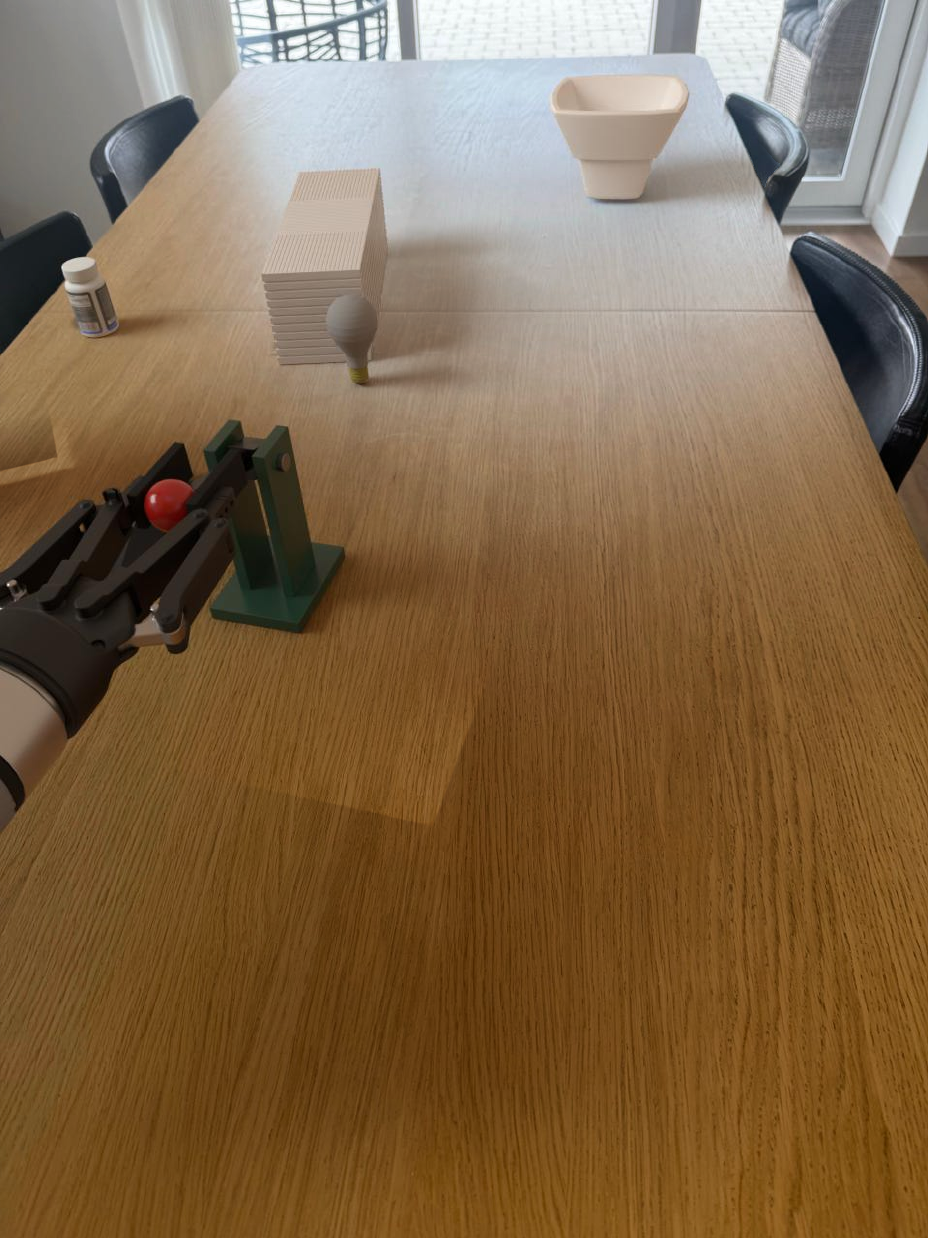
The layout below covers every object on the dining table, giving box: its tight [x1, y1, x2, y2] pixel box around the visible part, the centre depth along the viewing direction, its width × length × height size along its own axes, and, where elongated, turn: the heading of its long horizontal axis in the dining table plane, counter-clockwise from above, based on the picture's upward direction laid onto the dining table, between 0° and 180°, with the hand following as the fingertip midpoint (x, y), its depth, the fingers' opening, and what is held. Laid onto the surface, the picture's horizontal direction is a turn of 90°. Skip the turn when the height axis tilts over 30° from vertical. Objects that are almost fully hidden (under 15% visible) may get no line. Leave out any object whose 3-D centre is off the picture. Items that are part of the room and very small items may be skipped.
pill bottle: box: [61, 256, 120, 339], centre depth 117 cm, size 5×5×8 cm
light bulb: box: [326, 294, 379, 385], centre depth 104 cm, size 6×5×10 cm
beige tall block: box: [261, 167, 389, 365], centre depth 119 cm, size 32×11×11 cm, turn 0°
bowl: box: [549, 73, 691, 200], centre depth 140 cm, size 19×19×14 cm
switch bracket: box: [202, 418, 347, 634], centre depth 77 cm, size 10×8×15 cm
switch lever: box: [144, 436, 266, 533], centre depth 69 cm, size 14×4×4 cm, turn 164°
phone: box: [108, 479, 196, 576], centre depth 88 cm, size 8×1×15 cm
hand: (211, 462), depth 68 cm, fingers closed on switch lever, 4 cm apart
